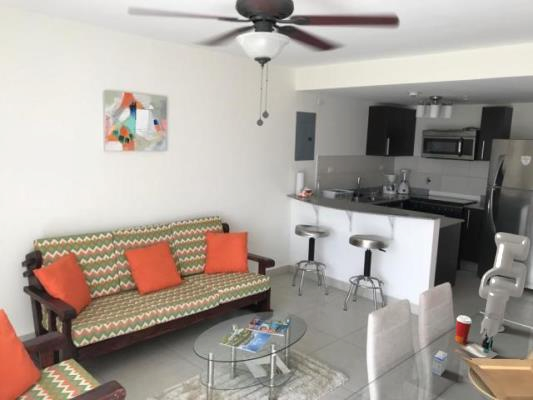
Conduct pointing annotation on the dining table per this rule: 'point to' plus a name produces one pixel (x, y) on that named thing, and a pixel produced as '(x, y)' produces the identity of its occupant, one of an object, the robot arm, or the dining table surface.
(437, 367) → the medicine box
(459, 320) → the paper cup
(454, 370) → the dining table surface
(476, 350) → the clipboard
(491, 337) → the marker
